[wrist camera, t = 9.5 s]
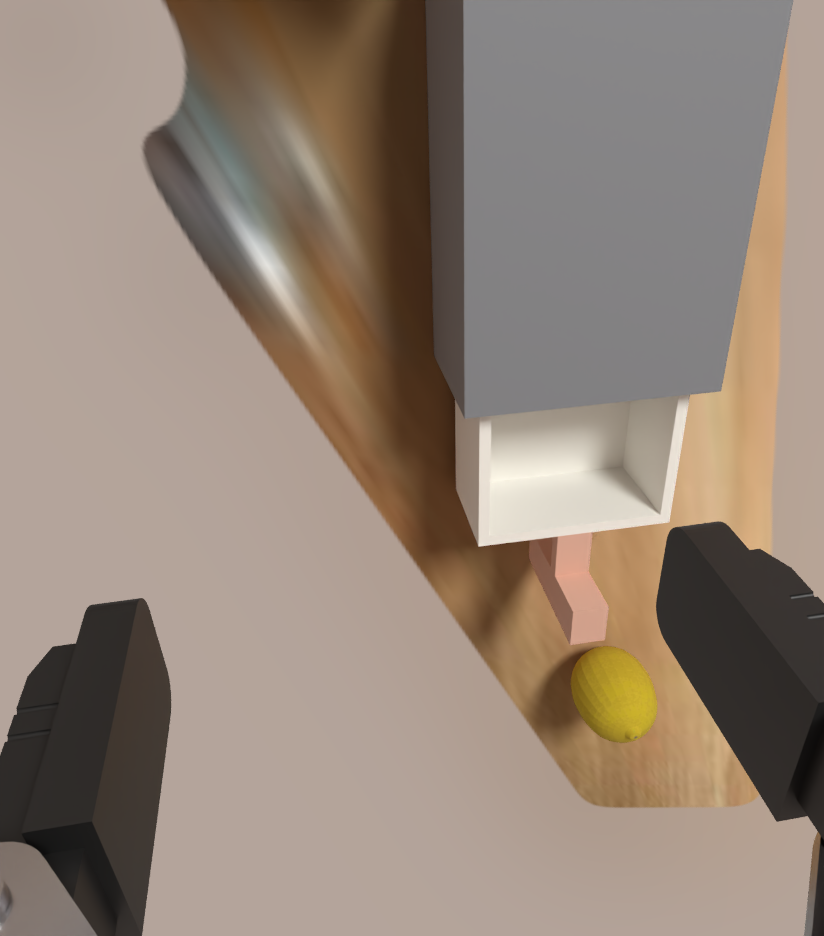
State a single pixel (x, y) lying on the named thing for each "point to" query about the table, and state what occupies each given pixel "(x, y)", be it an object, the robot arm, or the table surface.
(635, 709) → the lemon
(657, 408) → the drawer
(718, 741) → the table surface
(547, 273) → the sleeve
